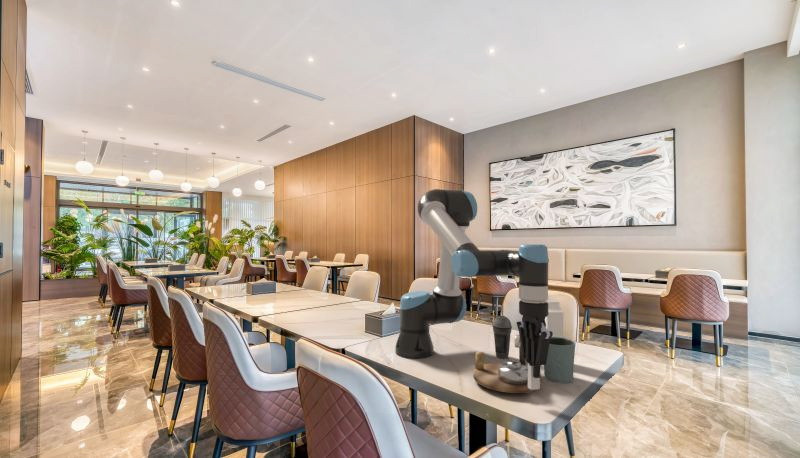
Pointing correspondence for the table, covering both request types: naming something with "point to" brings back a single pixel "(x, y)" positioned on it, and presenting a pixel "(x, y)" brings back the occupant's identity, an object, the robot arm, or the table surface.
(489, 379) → the turntable
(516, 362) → the cover
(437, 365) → the table surface
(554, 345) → the grey-green tumbler
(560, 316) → the milk
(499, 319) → the beverage cup
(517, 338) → the dial gauge
